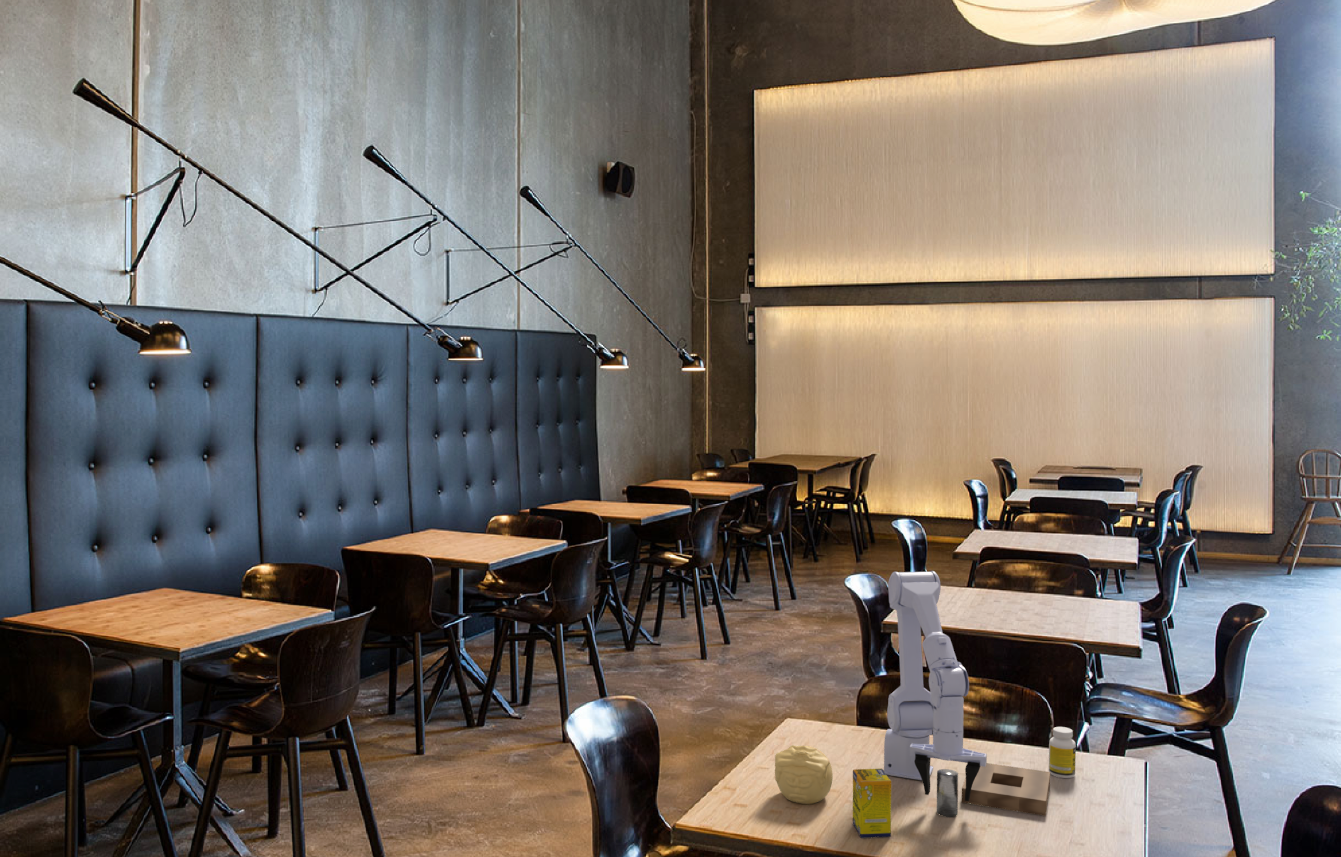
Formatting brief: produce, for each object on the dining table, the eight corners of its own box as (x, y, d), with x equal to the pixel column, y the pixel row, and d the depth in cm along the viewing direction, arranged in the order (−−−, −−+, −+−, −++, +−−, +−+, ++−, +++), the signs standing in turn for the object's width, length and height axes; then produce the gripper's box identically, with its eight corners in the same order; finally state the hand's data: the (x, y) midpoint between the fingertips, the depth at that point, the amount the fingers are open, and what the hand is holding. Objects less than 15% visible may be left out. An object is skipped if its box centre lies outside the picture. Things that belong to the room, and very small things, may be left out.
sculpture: (769, 805, 204) (769, 752, 204) (783, 783, 216) (783, 733, 215) (825, 813, 201) (826, 759, 200) (837, 790, 212) (837, 739, 211)
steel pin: (935, 815, 200) (935, 775, 199) (938, 807, 203) (938, 767, 203) (956, 818, 198) (956, 778, 198) (958, 810, 202) (959, 770, 201)
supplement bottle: (1077, 779, 217) (1078, 734, 217) (1050, 778, 218) (1051, 733, 218) (1072, 770, 222) (1073, 726, 222) (1046, 768, 224) (1047, 724, 223)
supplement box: (851, 824, 195) (852, 768, 195) (882, 823, 196) (882, 767, 195) (860, 838, 189) (860, 781, 189) (891, 837, 190) (891, 779, 189)
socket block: (961, 802, 205) (961, 788, 205) (971, 774, 220) (971, 760, 220) (1045, 816, 199) (1046, 801, 199) (1050, 786, 214) (1050, 772, 214)
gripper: (907, 729, 199) (906, 797, 200) (984, 739, 193) (983, 809, 194) (913, 718, 206) (912, 784, 206) (988, 728, 200) (987, 796, 200)
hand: (947, 796), depth 201 cm, fingers open, 7 cm apart
